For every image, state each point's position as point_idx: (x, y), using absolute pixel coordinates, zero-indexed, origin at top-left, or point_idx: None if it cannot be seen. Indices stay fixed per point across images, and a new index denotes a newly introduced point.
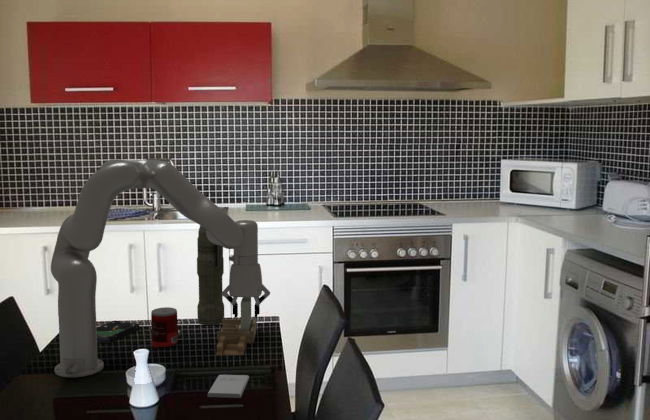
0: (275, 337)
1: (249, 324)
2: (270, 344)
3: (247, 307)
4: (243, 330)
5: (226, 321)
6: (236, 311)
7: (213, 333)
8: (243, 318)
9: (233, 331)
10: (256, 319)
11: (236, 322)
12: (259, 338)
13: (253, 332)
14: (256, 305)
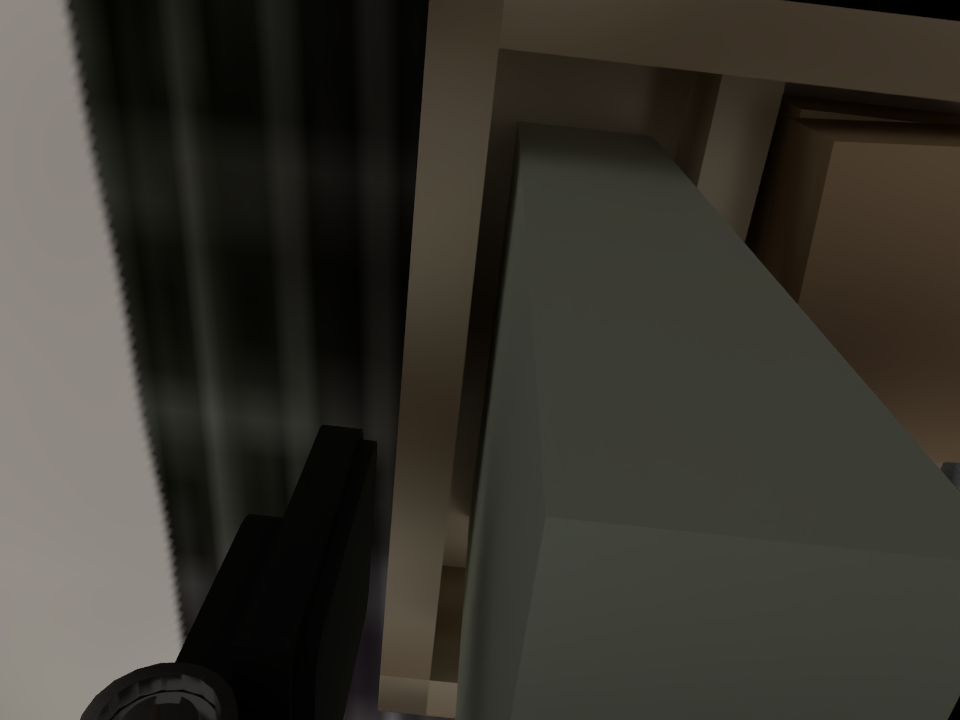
0: (138, 355)
1: (505, 309)
2: (176, 39)
3: (598, 389)
4: (634, 170)
5: None
6: None
7: None
8: (680, 253)
9: (869, 68)
10: (378, 699)
11: None
12: (360, 341)
13: (429, 26)
14: (241, 656)
